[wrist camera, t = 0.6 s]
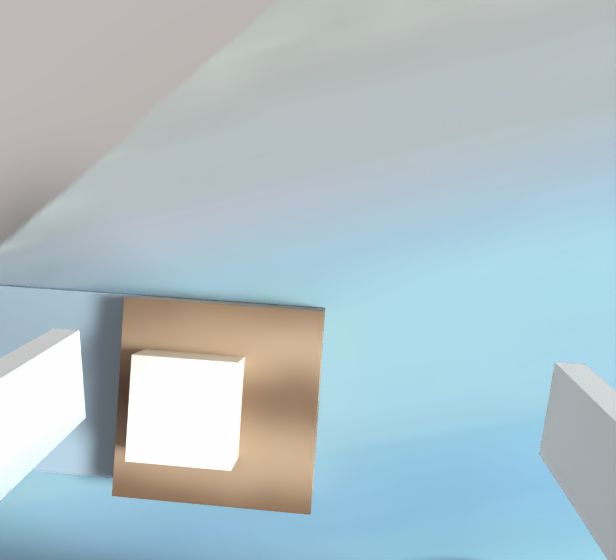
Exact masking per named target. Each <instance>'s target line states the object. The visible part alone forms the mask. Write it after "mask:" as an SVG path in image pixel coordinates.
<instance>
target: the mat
mask: <svg viewBox="0 0 616 560" xmlns="http://www.w3.org/2000/svg"><path fill="white" fill-rule="evenodd" d="M133 296H142V295H132V294H118V293H103V292H89V291H75V290H61V289H47V288H32V287H18V286H4V285H0V358H2V357H3V356H5V355H7V354H9V353H10V352H12V351H14V350H16V349H18V348H19V347H21V346H23V345H25V344H27V343H28V342H30V341H32V340H34V339H36V338H37V337H39V336H41V335H43V334H44V333H46V332H48V331H50V330H52V329H53V328H54V329H69V330H79V333H80V347H81V360H82V374H83V387H84V401H85V414H86V418H85V419H84V420H83V421H82V422H81V423H80V424H79V425H78V426H77V427H76V428H75V429H74V430H73V431H72V432H71V433H70V434H69V435H67V436H66V437H65V438H64V439H63V440H62V441H61V442H60V443H59V444H58V445H57V446H56V447H55V448H54V449H53V450H52V451H51V452H50V453H49V454H48V455H47V456H46V457H45V458H44V459H43V460H42V461H41V462H39V463H38V464H37V465H36V466H35V467H34V468H33V469H32V470H33V471H44V472H55V473H65V474H76V475H87V476H98V477H109V478H113V472H114V456H115V439H116V423H117V406H118V390H119V373H120V357H121V340H122V324H123V307H124V297H133Z"/></svg>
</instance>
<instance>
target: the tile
mask: <svg viewBox="0 0 616 560" xmlns="http://www.w3.org/2000/svg"><path fill="white" fill-rule="evenodd" d="M244 359H245V357H241V356H228V355H215V354H202V353H189V352H175V351H162V350H149V349H145V350H142V351H140V352H137V353H135V354H132V357H131V373H130V390H129V406H128V423H127V439H126V455H125V461H126V462H138V463H149V464H160V465H171V466H182V467H193V468H204V469H215V470H227V471H231V470H232V468H233V466H234V464H235V462H236V461H237V459H238V453H239V437H240V421H241V406H242V390H243V375H244Z"/></svg>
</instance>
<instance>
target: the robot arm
mask: <svg viewBox="0 0 616 560" xmlns="http://www.w3.org/2000/svg"><path fill="white" fill-rule="evenodd" d="M85 418H86V414H85V401H84V387H83V374H82V360H81V347H80V333H79V330H69V329H54V328H53V329H52V330H50V331H48V332H46V333H44V334H43V335H41V336H39V337H37V338H36V339H34V340H32V341H30V342H28V343H27V344H25V345H23V346H21V347H19V348H18V349H16V350H14V351H12V352H10V353H9V354H7V355H5V356H3V357H2V358H0V500H1V499H2V498H3V497H4V496H5V495H6V494H7V493H8V492H9V491H10V490H12V489H13V488H14V487H15V486H16V485H17V484H18V483H19V482H20V481H21V480H22V479H23V478H24V477H25V476H26V475H27V474H28V473H29V472H30V471H31V470H32V469H33V468H34V467H35V466H36V465H37V464H38V463H39V462H41V461H42V460H43V459H44V458H45V457H46V456H47V455H48V454H49V453H50V452H51V451H52V450H53V449H54V448H55V447H56V446H57V445H58V444H59V443H60V442H61V441H62V440H63V439H64V438H65V437H66V436H67V435H69V434H70V433H71V432H72V431H73V430H74V429H75V428H76V427H77V426H78V425H79V424H80V423H81V422H82V421H83V420H84V419H85ZM539 455H540V456H541V458H542V459H543V461H544V462H545V464H546V465H547V467H548V469H549V470H550V472H551V473H552V475H553V476H554V478H555V479H556V481H557V482H558V484H559V486H560V487H561V489H562V490H563V492H564V493H565V495H566V496H567V498H568V499H569V501H570V502H571V504H572V506H573V507H574V509H575V510H576V512H577V513H578V515H579V516H580V518H581V519H582V521H583V523H584V524H585V526H586V527H587V529H588V530H589V532H590V533H591V535H592V536H593V538H594V539H595V541H596V543H597V544H598V546H599V547H600V549H601V550H602V552H603V553H604V555H605V556H606V558H607V560H616V391H615V390H614V389H613V388H612V387H611V386H610V385H608V384H607V383H606V382H605V381H604V380H603V379H601V378H600V377H599V376H598V375H597V374H596V373H594V372H593V371H592V370H591V369H590V368H589V367H587V366H586V365H585V364H574V363H559V362H555V364H554V370H553V376H552V382H551V388H550V394H549V400H548V406H547V412H546V418H545V424H544V430H543V436H542V441H541V447H540V453H539Z"/></svg>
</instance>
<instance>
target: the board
mask: <svg viewBox="0 0 616 560" xmlns="http://www.w3.org/2000/svg"><path fill="white" fill-rule="evenodd" d="M324 317H325V308H317V307H303V306H288V305H274V304H260V303H246V302H231V301H217V300H203V299H189V298H175V297H160V296H146V295H142V296H133V297H124V307H123V324H122V340H121V357H120V373H119V390H118V406H117V423H116V439H115V456H114V472H113V489H112V496H118V497H129V498H139V499H150V500H161V501H171V502H182V503H193V504H203V505H214V506H224V507H235V508H246V509H256V510H267V511H278V512H288V513H299V514H309V515H310V514H311V504H312V495H313V482H314V467H315V452H316V437H317V422H318V407H319V392H320V377H321V362H322V347H323V332H324ZM145 349H149V350H162V351H175V352H189V353H202V354H215V355H228V356H241V357H245V359H244V375H243V390H242V406H241V421H240V437H239V453H238V459H237V461H236V462H235V464H234V466H233V468H232V470H231V471H227V470H215V469H204V468H193V467H182V466H171V465H160V464H149V463H138V462H126V461H125V455H126V439H127V423H128V406H129V390H130V373H131V357H132V354H135V353H137V352H140V351H142V350H145Z"/></svg>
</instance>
